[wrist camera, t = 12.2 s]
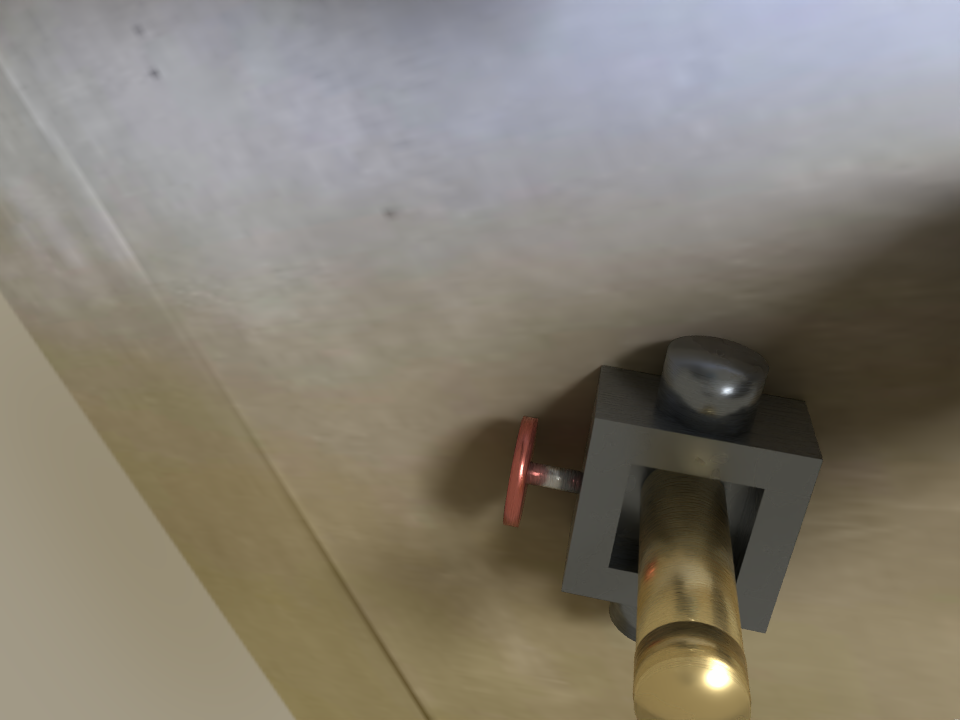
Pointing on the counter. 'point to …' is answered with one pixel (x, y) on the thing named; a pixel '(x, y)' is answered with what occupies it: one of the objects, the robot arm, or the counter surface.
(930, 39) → the counter surface
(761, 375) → the valve body
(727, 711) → the fitting
